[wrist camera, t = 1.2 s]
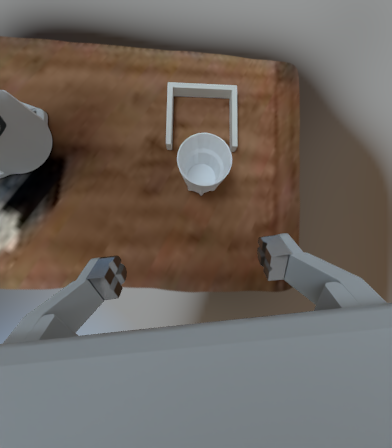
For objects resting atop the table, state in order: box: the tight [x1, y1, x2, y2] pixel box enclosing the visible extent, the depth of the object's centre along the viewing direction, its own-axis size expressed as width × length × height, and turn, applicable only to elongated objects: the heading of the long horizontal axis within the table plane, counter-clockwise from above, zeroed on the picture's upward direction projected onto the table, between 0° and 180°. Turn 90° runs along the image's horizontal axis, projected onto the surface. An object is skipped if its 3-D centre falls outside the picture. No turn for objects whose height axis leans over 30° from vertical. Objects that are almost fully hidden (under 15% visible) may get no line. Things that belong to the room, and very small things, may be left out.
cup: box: [177, 133, 232, 196], centre depth 36 cm, size 10×10×10 cm
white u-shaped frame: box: [166, 82, 238, 152], centre depth 41 cm, size 15×16×2 cm
